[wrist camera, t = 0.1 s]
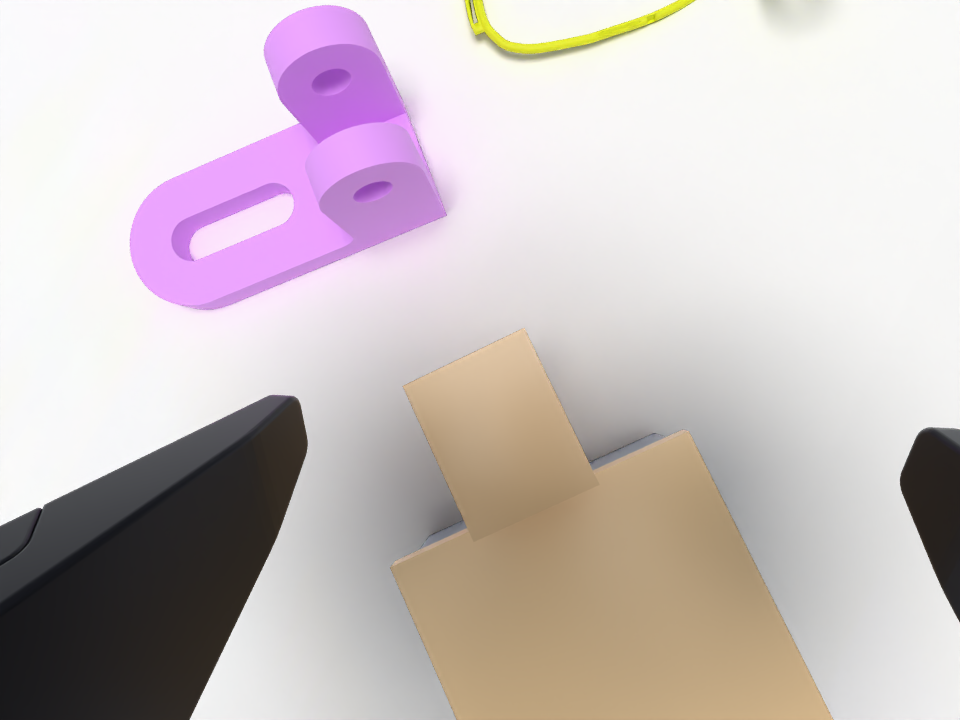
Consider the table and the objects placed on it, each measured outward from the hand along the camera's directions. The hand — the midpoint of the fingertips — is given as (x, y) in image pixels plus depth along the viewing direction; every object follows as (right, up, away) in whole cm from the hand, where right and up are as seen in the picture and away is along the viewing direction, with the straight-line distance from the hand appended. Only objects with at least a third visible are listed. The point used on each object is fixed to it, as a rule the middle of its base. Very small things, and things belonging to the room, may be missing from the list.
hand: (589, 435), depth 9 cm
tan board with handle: (+2, -8, +10) cm, 13 cm away
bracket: (-10, +7, +17) cm, 21 cm away
